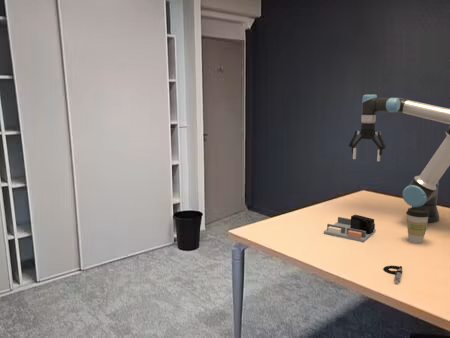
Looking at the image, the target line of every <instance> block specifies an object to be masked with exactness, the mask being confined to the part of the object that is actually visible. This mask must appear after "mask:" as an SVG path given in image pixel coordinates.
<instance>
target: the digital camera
mask: <svg viewBox="0 0 450 338" xmlns="http://www.w3.org/2000/svg"><path fill="white" fill-rule="evenodd" d="M350 219H351V226H350V228H352V229H357V230H362V231H366V234H371V233H373V231H374V223H375V219H374V218H371V217H366V216H363V215H360V214H353V215H351V216H350Z"/></svg>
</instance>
